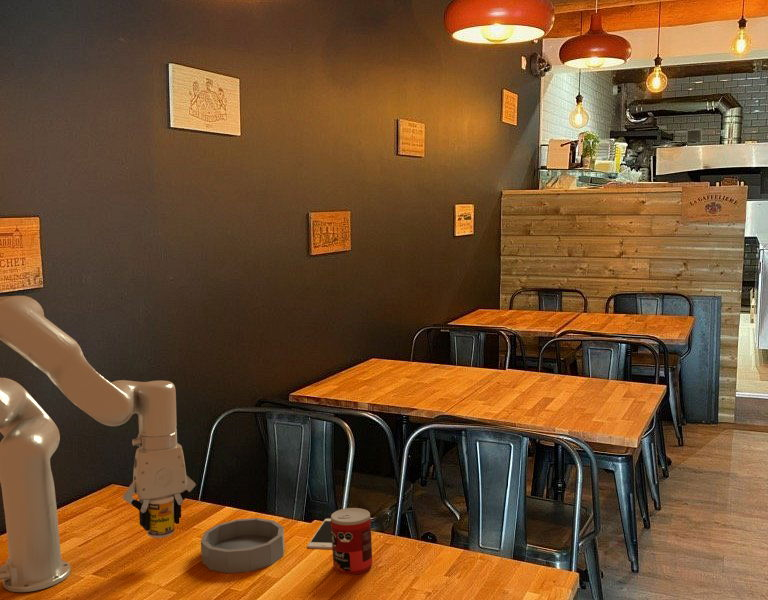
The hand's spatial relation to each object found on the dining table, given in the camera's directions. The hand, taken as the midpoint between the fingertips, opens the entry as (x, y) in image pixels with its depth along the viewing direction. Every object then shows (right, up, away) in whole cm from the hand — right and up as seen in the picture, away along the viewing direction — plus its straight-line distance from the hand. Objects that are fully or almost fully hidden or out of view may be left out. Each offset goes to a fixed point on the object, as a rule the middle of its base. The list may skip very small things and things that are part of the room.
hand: (160, 524), depth 159 cm
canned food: (+41, -7, -5) cm, 41 cm away
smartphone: (+35, -6, +12) cm, 38 cm away
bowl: (+17, -7, +3) cm, 19 cm away
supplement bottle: (0, -2, 0) cm, 2 cm away
